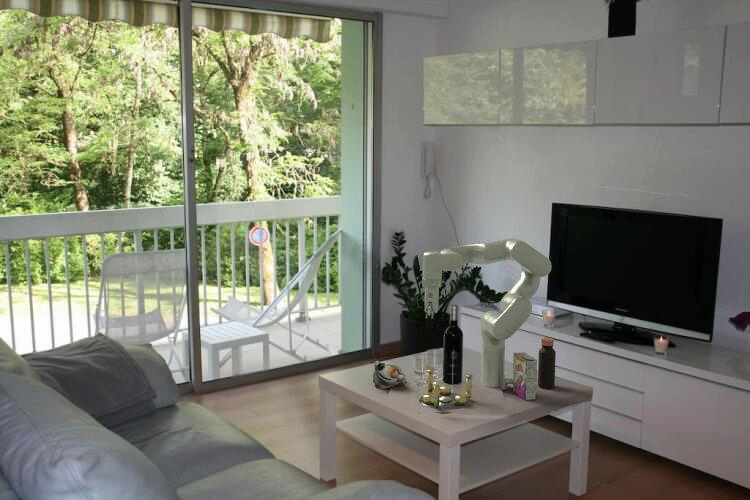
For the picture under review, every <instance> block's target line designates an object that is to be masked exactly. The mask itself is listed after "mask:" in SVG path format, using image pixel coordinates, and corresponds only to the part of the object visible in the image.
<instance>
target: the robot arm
mask: <svg viewBox="0 0 750 500" xmlns="http://www.w3.org/2000/svg"><path fill="white" fill-rule="evenodd" d="M511 260H512V261H515V262H516V263H518V264H519V265H520V268H521V274H520V277H519V279H518V280H517V281H516V282H515V284H514V285H513V287H511V288H510V289H509V291H508V292H507V293H506V294H505V295H504V296H503V297H502V298H501V300H500V301H499V307H500V309H501V310H502V312H501V313H500V312H499V311H496V310H488V311H486V312H484V314H483V315H482V316H481V317H480V323H479V329H480V335H481V354H480V357H481V358H480V361H481V362H480V368H481V369H480V385H482V386H484V387H487V388H500V389H501V392H504V391H507V389H508V388H509V385H513V377H512V378H507V377H506V374H505V371H506V370H505V369H506V368H505V367H506V364H505V363H506V361H505V360H506V340H507V339H509V338H511V337H512V336H514V334H515V333H516V332H517V331H518V330H519V329H520V328H521V327H522V326H523V325H524V323H526V321H528V319H529V318H530V316H531V314H532V312H533V305H532V302H531V299H532V298H533V296H534V295H536V293H537V292H538V290H539V287H540V285H541V278H543V277H547V276H548V275H549V274H550V273H551V271H552V267H553V266H552V262H551V260H550V259H549V257H547V256H546V255H544V254H543V253H541V252H540V251H538V250H537V249H535V248H534V247H533V246H531V245H530V244H528V243H527V242H525V241H524V240H521V239H518V238H512V237H511V238H504V239H501V240H500V239H499V240H494V241H488V242H484V243H475V244H469V245H468V244H466V245H458V246H454V247H453V246H452V247H448V248H444V249H441V251H440V252H439V251H424V253H423V255H422V278H421V279H422V280H421V281H422V282H421V285H422V286H421V287H423V288H424V312H425V313H426V314H425V317H424V318H425V319H424V320H425V321H424V323H425V324H424V328H425V329H433V328H434V324H436V314H437V313H438V311H439V303H440V302H439V298H440V297H439V295H440V293H439V292H440V289H439V288H442V280H443V279H442V277H443V276H442V274H443V271H447V272H448V271H449V272H457V271H460V270H461V269H462V268H463V265H464V264H475V265H491V264H494V263H495V264H497V263H499V262H504V261H506V262H507V261H511Z"/></svg>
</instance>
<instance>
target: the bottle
mask: <svg viewBox="0 0 750 500" xmlns="http://www.w3.org/2000/svg"><path fill="white" fill-rule="evenodd" d="M554 341H555V340H554V338H552V337H542V338H541V342H540V344H541V348H540V349H539V350H538V360H537V361H538V362H537V365H538V368H537V386H538V388H541V389H545V390H551V389H554V388H555V384H556V356H557V355H556V353H557V352H556V350H555V349H554V343H555V342H554Z"/></svg>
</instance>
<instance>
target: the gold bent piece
mask: <svg viewBox="0 0 750 500" xmlns="http://www.w3.org/2000/svg"><path fill="white" fill-rule="evenodd" d="M465 378H466V380H465V381H466V382H465V383H466V384H465V385H466V391H465V393H463V394H462V393H461V394H460V393H459V394H460V395H456V396H455V404H456V405H466V404H467V398H470V399H472V390H473V389H472V381H473V374H469V373H468V374H466V375H465Z"/></svg>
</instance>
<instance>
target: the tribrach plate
mask: <svg viewBox="0 0 750 500" xmlns="http://www.w3.org/2000/svg"><path fill="white" fill-rule="evenodd" d="M429 394H434V392H432V393H429ZM456 395H460V393H455V392H451V395H449V396H442V395H440V391H439V406H434V404H424V403H423V395H422V396H421V397H420V398H419V399H418V401H419V403H420V404H421V405H422V406H423V407H426V408H430V409H433V410H446V411H447V410H448V411H451V410H459V409H464V408H467V407H468V406H470V405H471V404H472V399H471V398H467V404H466V405H456V404H455V396H456ZM434 413H436V414H445V412H441V411H434ZM447 414H450V412H446V415H447Z"/></svg>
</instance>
